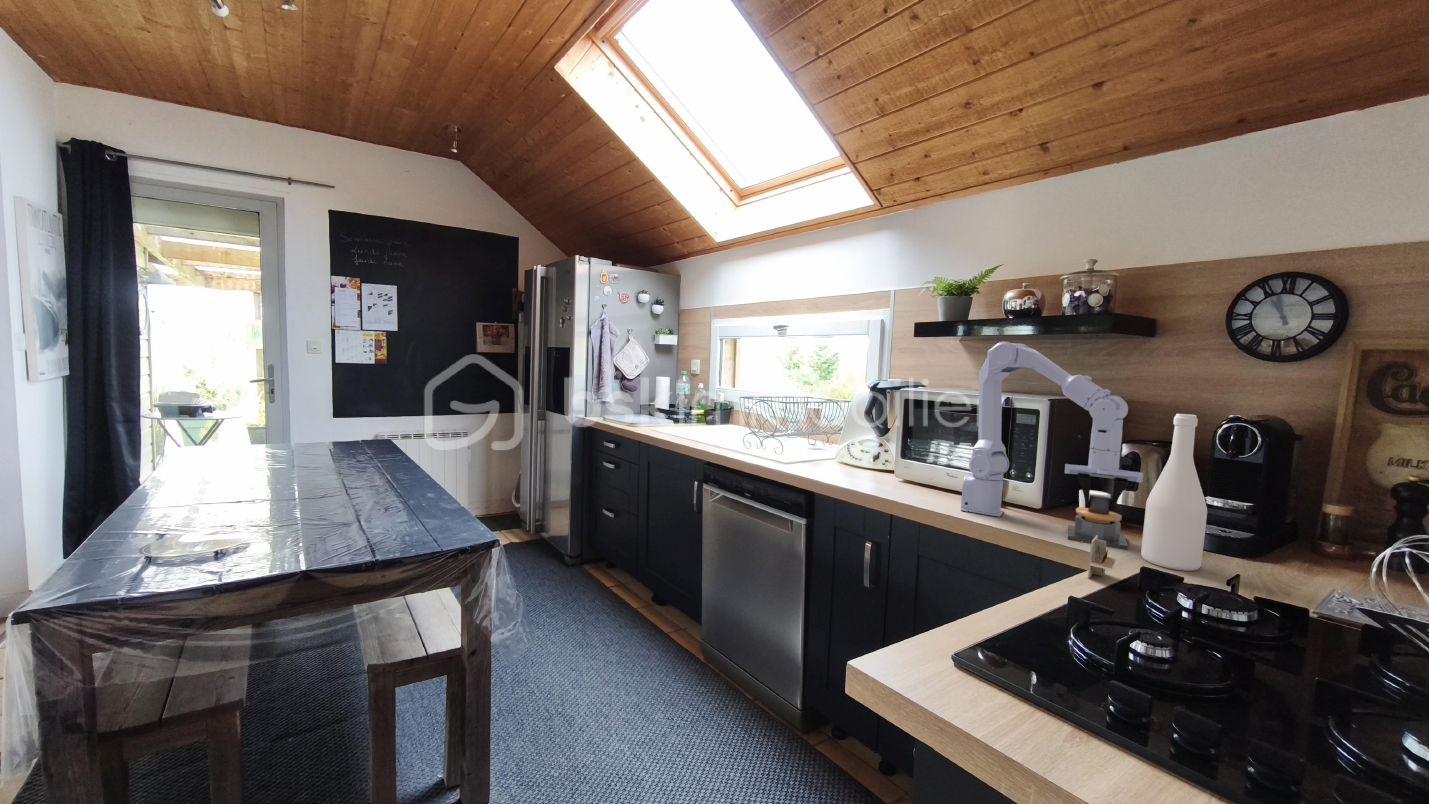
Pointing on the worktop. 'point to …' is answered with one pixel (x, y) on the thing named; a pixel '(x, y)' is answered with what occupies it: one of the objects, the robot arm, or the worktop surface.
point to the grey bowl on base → (1097, 532)
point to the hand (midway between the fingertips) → (1098, 509)
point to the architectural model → (1099, 558)
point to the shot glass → (1092, 492)
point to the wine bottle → (1176, 506)
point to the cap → (1099, 510)
